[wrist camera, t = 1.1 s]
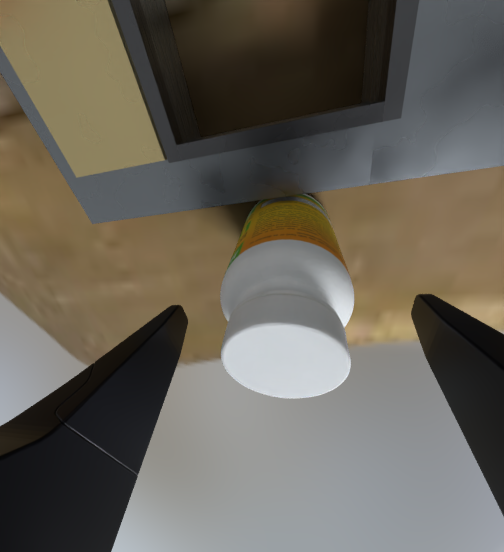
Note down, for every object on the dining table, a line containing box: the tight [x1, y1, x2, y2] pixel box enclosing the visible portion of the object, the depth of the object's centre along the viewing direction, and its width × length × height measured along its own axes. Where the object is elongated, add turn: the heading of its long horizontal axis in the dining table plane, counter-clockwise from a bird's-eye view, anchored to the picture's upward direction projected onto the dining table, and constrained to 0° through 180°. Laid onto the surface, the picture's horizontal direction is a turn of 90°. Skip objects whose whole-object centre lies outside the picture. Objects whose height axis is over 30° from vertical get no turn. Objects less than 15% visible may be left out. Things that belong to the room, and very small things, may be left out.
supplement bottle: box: [220, 194, 354, 398], centre depth 11 cm, size 5×5×10 cm
